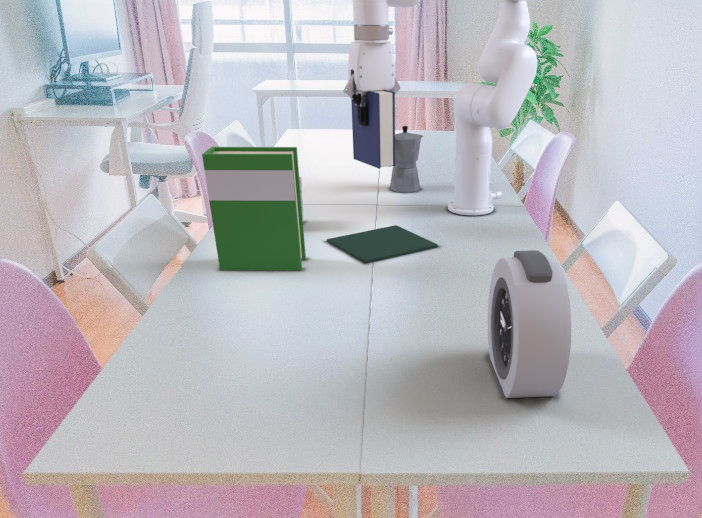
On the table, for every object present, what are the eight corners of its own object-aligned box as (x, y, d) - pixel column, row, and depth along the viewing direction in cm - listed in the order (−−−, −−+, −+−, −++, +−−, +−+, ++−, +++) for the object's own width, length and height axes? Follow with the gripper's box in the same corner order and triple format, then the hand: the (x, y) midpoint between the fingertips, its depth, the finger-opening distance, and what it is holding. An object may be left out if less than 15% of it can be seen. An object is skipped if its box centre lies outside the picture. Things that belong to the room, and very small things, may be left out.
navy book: (369, 156, 164) (367, 85, 155) (395, 166, 155) (394, 91, 147) (353, 159, 162) (350, 87, 153) (378, 168, 153) (377, 93, 145)
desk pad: (396, 227, 169) (396, 225, 169) (437, 246, 157) (437, 244, 156) (326, 241, 160) (326, 239, 159) (365, 263, 147) (365, 260, 147)
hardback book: (305, 258, 150) (296, 147, 137) (301, 270, 143) (291, 154, 131) (227, 258, 150) (211, 146, 137) (220, 270, 143) (202, 154, 131)
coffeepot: (411, 182, 208) (412, 121, 198) (431, 188, 202) (432, 125, 192) (372, 190, 200) (371, 126, 190) (391, 197, 194) (391, 131, 184)
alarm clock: (485, 345, 114) (493, 232, 103) (527, 343, 114) (540, 231, 104) (511, 413, 96) (525, 284, 85) (562, 410, 96) (581, 282, 86)
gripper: (394, 32, 151) (395, 118, 161) (328, 34, 143) (333, 124, 153) (413, 34, 146) (412, 123, 155) (345, 36, 138) (349, 130, 147)
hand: (373, 123), depth 154 cm, fingers closed on navy book, 4 cm apart
